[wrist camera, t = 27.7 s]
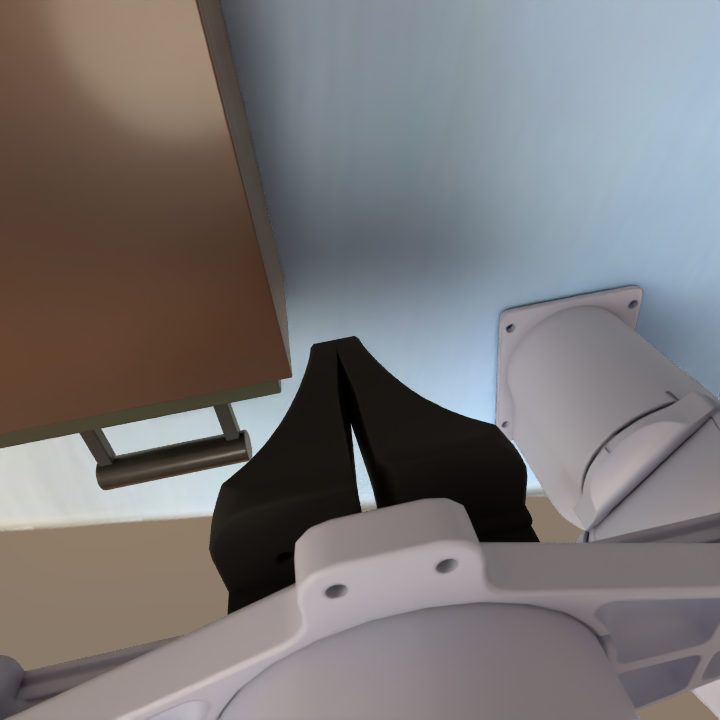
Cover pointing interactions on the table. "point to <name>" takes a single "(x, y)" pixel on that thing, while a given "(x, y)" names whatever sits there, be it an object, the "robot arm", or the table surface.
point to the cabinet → (129, 213)
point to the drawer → (161, 459)
